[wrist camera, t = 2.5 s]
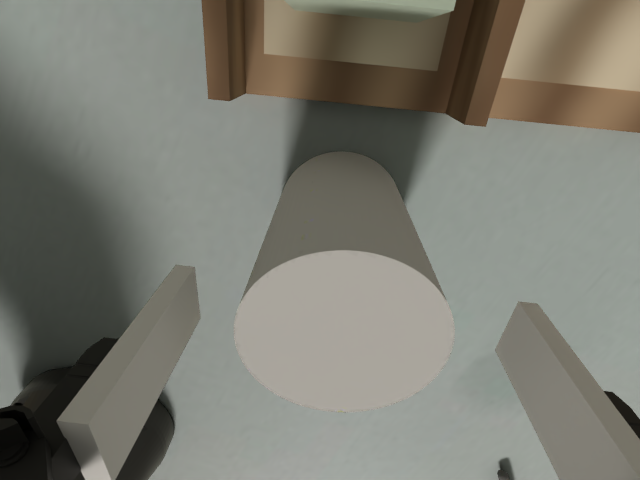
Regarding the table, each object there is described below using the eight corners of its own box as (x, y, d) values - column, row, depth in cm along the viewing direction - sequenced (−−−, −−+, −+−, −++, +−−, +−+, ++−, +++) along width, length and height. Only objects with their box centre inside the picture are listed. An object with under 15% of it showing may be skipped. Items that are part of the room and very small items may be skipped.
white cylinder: (256, 215, 24) (193, 347, 13) (335, 123, 20) (333, 200, 10) (343, 280, 26) (348, 435, 16) (426, 206, 23) (501, 339, 12)
